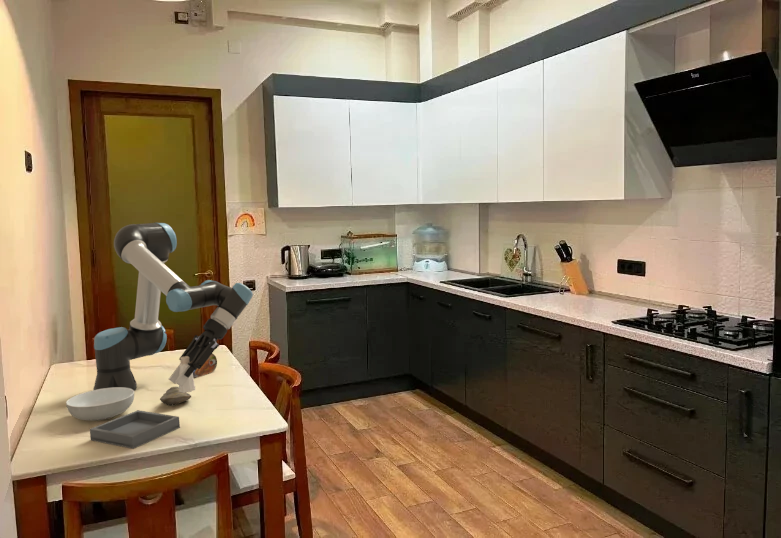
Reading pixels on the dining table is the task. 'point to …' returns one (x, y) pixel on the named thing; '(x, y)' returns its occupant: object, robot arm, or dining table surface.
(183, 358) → the salt shaker
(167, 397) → the fossilized seashell
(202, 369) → the tin
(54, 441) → the dining table surface
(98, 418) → the serving bowl
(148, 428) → the parts tray
